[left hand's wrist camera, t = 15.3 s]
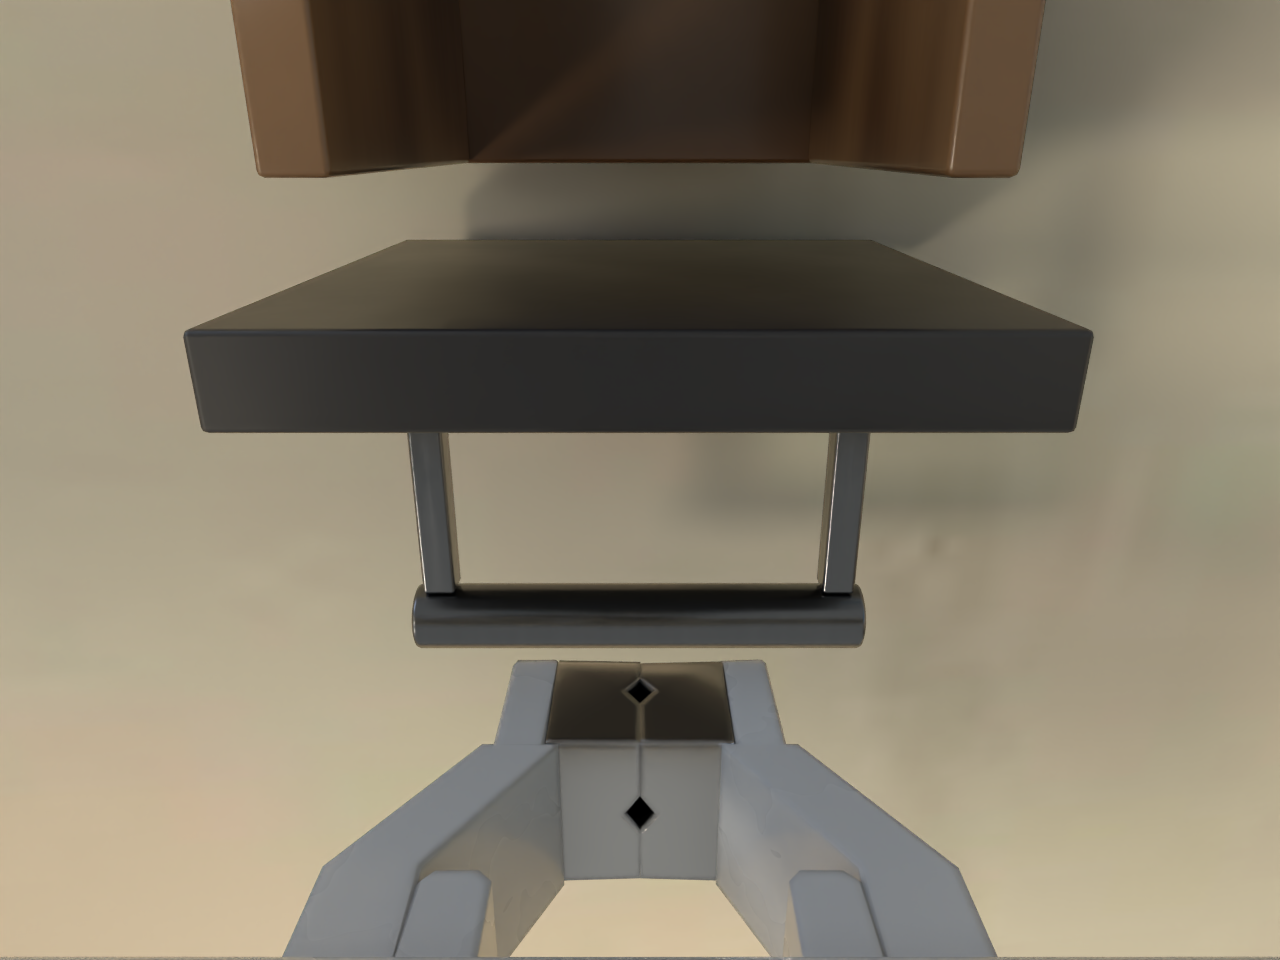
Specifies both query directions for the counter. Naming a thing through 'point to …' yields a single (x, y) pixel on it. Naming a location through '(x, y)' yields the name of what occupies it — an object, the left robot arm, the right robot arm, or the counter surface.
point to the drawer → (638, 268)
